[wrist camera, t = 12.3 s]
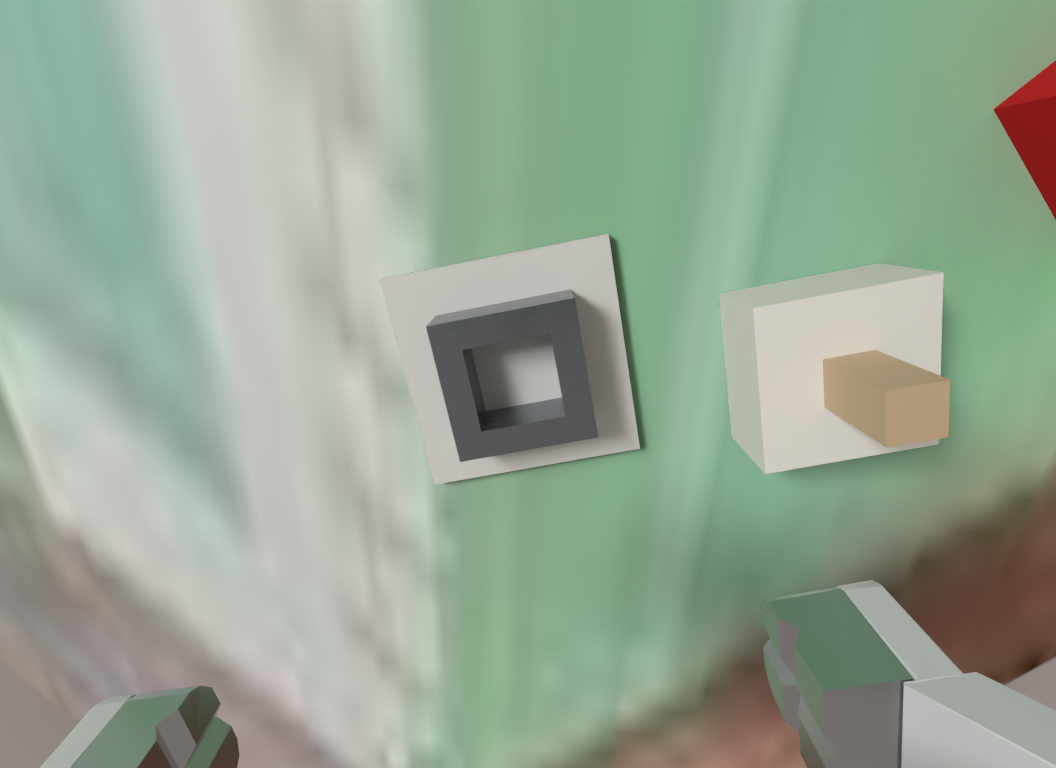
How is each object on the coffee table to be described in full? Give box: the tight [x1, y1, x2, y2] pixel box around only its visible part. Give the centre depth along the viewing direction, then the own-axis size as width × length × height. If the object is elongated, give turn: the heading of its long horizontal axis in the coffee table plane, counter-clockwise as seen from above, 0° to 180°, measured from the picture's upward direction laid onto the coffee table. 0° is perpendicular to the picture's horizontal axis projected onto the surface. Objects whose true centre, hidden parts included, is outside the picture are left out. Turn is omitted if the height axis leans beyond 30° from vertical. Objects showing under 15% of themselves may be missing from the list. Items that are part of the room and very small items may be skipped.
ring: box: [426, 290, 598, 462], centre depth 24 cm, size 6×6×2 cm
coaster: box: [380, 234, 640, 485], centre depth 25 cm, size 10×10×1 cm
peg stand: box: [719, 263, 950, 474], centre depth 22 cm, size 7×7×8 cm
